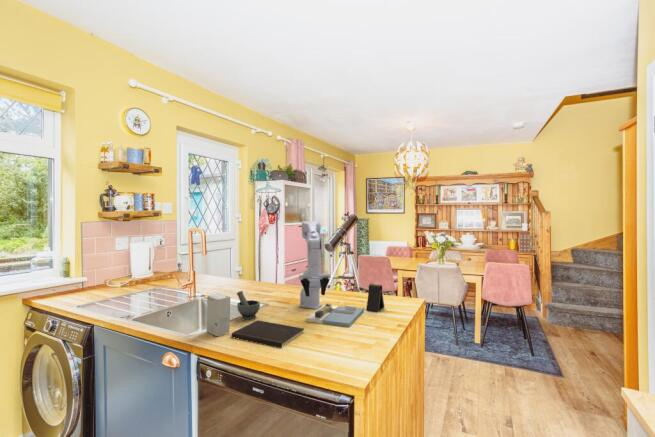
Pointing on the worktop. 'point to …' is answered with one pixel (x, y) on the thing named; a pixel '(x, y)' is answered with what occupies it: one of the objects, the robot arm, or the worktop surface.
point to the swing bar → (323, 310)
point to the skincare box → (218, 314)
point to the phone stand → (375, 298)
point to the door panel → (343, 316)
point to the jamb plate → (320, 320)
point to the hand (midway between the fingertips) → (315, 295)
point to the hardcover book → (268, 333)
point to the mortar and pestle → (247, 307)
